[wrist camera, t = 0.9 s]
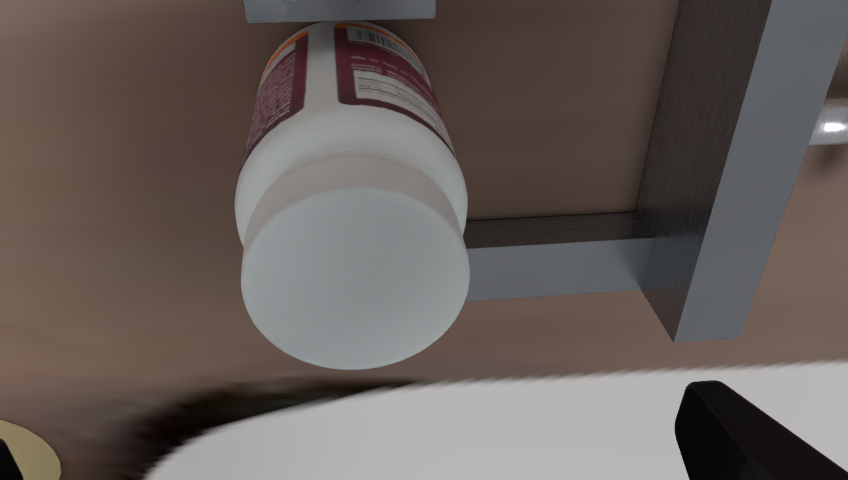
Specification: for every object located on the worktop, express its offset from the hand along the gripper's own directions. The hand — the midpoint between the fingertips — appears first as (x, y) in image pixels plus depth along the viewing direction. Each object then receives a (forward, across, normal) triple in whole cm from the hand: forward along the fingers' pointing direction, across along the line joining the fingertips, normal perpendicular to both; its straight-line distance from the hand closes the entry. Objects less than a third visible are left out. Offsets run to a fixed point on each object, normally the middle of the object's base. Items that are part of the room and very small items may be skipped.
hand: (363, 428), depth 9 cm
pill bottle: (+12, 0, 0) cm, 12 cm away
